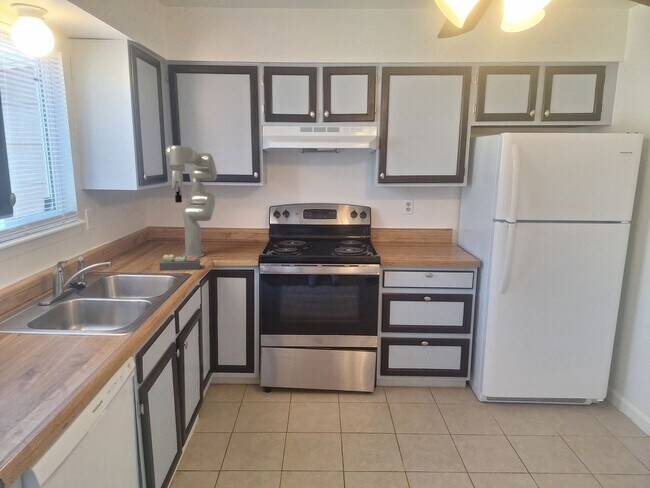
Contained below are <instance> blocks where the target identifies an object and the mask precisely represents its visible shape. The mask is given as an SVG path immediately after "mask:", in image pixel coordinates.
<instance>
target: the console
mask: <svg viewBox="0 0 650 488" xmlns="http://www.w3.org/2000/svg"><path fill="white" fill-rule="evenodd" d="M200 267H201V258H197V260H196V261H192V262H189V261H187V258H185V261H184V262H177V261H175V258H173V259H172V262H165V259H161V260H160V262H159V271H160V272H161V271H195V270H200Z"/></svg>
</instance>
